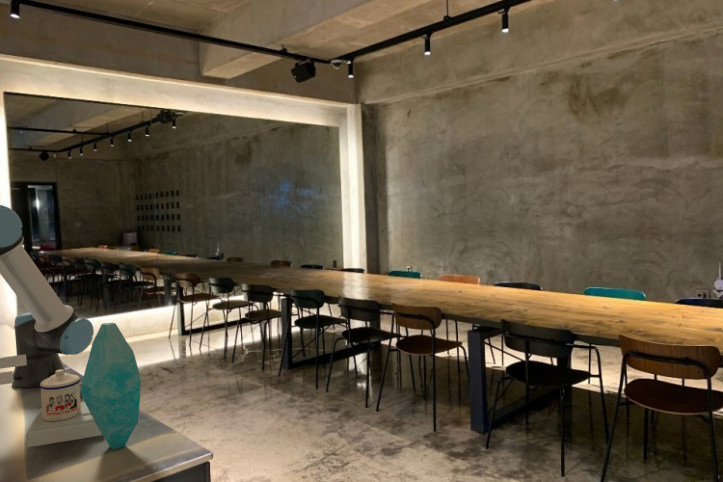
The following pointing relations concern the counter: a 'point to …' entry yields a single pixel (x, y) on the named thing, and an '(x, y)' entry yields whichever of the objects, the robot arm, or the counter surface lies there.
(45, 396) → the teacup with lid
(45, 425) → the plinth
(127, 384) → the crystal
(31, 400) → the counter surface
